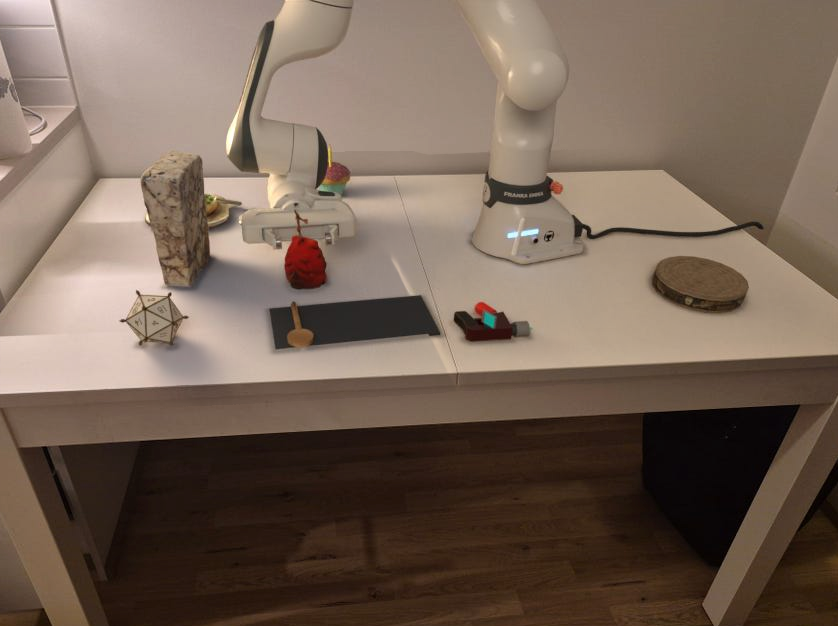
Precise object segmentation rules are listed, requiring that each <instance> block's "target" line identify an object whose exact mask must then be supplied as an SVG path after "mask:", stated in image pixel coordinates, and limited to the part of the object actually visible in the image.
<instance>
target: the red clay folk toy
mask: <svg viewBox="0 0 838 626" xmlns="http://www.w3.org/2000/svg"><path fill="white" fill-rule="evenodd" d="M296 211H297V210H294V212H295V214H296V218H295V219H296V220H297V225H298V226H297V229H296V230H297V231H298V232H299V236H298V235H295V236H293V237H292V241H290V244H289V245H288V247H287V250H286V252H285V253H286V254H285V256H284V265H283V267H284V269H283V270H284V273H285V278H286V280H287V281H288V283H289V284H290V287H291V288H292V289H294V290H313V289H319V288H320V287H321V286H322V285H323V286H324V285H325V284H326V282H327V277H328V275H327V271H326V270H327V268H328V267H327V266H328V262H327V261H326V258H325V256H324V253H323V251H322V249H321V248H320V243H319V241H317V239H315V240H312V239H310V238H307V237H302V235H301V232H300V230H301V227H300V220H301V221H303V222H304V223H305V224H308V219H302V218H301V217H300V216H299V214H298V212H297V213H296Z"/></svg>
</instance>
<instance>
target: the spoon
mask: <svg viewBox="0 0 838 626" xmlns="http://www.w3.org/2000/svg"><path fill="white" fill-rule="evenodd" d="M297 306H298V304H297V302H296V301H295V300H292V301H290V307H291V310H292V315H293V320H294V324H295V330H292V331H291V332H289V333H288V335H287V340H288V343H289V344H290V345H292V346H294V347H295V348H305V347H309V346H308V345H310V344H312V342H313V340H314V335H313V333H312V332H311V331H310V330H307V329H302V327H301V322H300V317H299V313H298V308H297Z"/></svg>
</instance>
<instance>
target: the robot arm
mask: <svg viewBox="0 0 838 626" xmlns="http://www.w3.org/2000/svg"><path fill="white" fill-rule="evenodd" d="M354 1H355V0H284V3H283V6H282V7H281V10H280V12H279V13H278V14H277V16H276V17H275V18H274V19H273V20H270V21H266V22H265V23H264V25H263V26H262V28H261V30H260V32H259V35H258V38H257V41H256V43H255V46H254V50H253V54H252V56H251V59H250V63H249V67H248V70H247V73H246V77H245V80H244V84H243V88H242V91H241V95H240V98H239V102H238V105H237V108H236V111H235V114H234V117H233V119H232V122H231V124H230V126H229V128H228V131H227V134H226V138H225V149H226V157H227V158H228V160H229V161H230V162H231V164H233V166H234V167H235V168H237V169H238V171H240V172H242V173H253V174H255V173H257V174H259V173H263V174H269V176H268V181H267V188H266V189H267V200H268V203H269V208H253V209H248V210H246V211H245V212H244V213H243V214H240V215H239V216H238V223H239V225H241V235H242V241H243V242H244V243H246V244H248V245H254V244H267V245H268V246H271V247H272V250H283V244H282V243H283V242H284V243H285V242H292V237H293V236H295V235H298V236H299V232H298V231H297V230H296V229H297V226H298V225H297V220H296V219H295V218H296V214H295V212H294V210H297V211H296V213H297V212H298V214H299V216H300V217H301V218H302V219H308V224H305V223H304V222H303V221H301V220H300V227H301V230H300V232H301V235H302V237H307V238H310V239H312V240H324V243H325V247H326V246H327V247H329V246H331V247H332V246H335V245H336V244H335V243H336V242H335V241H336V240H338V239H342V238H343V239H344V238H353V237H355V236H356V234H357V225H358V224H357V217H356V214H355V212H354V211H353V209H352V208H351V206H350V205H349V204H348V203H347V202H345V201H343V198H342V196H341V194H339V193H336V192H326V191H321V190H320V189H319V188H320V187H319V186H320V185H321V184H322V182H323V181H324V178H325V175H326V172H327V166H328V162H329V151H328V148H329V147H328V144H327V143H328V142H327V141H326V139H325V137H324V135H323V134H322V132H321V130H320V129H319V128H318V127H317V126H311V125H306V124H303V123H302V124H301V123H295V122H287V121H280V120H275V119H270V118H269V119H268V118H265V117H263V116H262V115H261V114H262V112H263V108H264V105H265V101H266V98H267V95H268V93H269V89H270V85H271V81H272V79H273V77H274V75H275V73H276V72H277V71H279V69H280V68H282V67H284V66H286V65H288V64H292V63H295V62H299V61H305V60H310V59H316V58H319V57H322V56H325V55H327V54H329V53H331V52H333V51H334V50H336V49H337V48H338V47H339V46H340V45H341V44H342V43H343V41H344V40H345V38H346V36H347V33H348V31H349V27H350V23H351V18H352V12H353V6H354ZM452 2H453V4H454V5H455V7H456V9H457V10H458V12H459V14H460V15H461V17H462V18H463V20H464V22H465V24H466V25H467V27H468V29H469V30H470V31H471V34H472V36H473V37H474V39H475V41H476V43H477V45H478V47H479V48H480V50H481V52H482V54H483V56H484V58H485V60H486V62H487V63H488V65H489V67H490V69H491V71H492V72H493V74H494V76H495V77H496V79H497V87H496V88H497V89H496V97H495V98H496V99H495V109H494V117H493V118H494V119H493V129H492V138H491V144H490V145H491V147H490V153H489V161H488V162H489V163H488V168H487V171H486V172H485V176H484V182H483V187H482V206H481V211H480V215H479V217H478V221H477V223H476V227H475V229H474V232H473V234H472V236H471V243H472V244H473V246H474V247H475V248H476V249H478V250H479V251H481V252H482V253H485V254H487V255H490V256H493V257H496V258H501V259H506V260H509V261H511V262H514V263H515V264H516V263H517V264H519V265H529V264H533V263H539V262H544V261H549V260H554V259H559V258H565V257H570V256H574V255H575V256H576V255H580V254H583V252H584V247H585V245H584V241H583V240H582V239H581V237H582V234H583V231H586V238H588V239H590V240H595V239H598V238H601V237H604V236H606V235H609V234H611V233H633V234H641V235H642V234H643V235H654V236H655V235H656V236H666V237H668V236H669V237H692V238H693V237H708V236H716V235H723V234H727V233H729V232H730V233H731V232H734V231H735V232H736V231H739V230H743V229H745V228H746V229H747V228H750V227H756V228H758V230H765V228H764V226H763V224H762V223H761V222H759V221H748V222H744V223H742V224H738V225H734V226H728V227H724V228H721V229H717V230H709V231H673V230H672V231H671V230H658V229H647V228H636V227H624V226H623V227H621V226H619V227H610V228H607V229H605V230H602V231H600V232H598V233H597V234H592V228H591V226H589V225H588V224H585V223H582V221H581V220H580V219H579V218H578V217H577V216H575V214H572V213H571V212H570V210H568V209H567V208H566V207H565V206H564V205H563V204H562V203H561V202H560V201H559V200H557V199H556V198H555V197H554V195H553V194H555V196H556V195H557V196H558V195H561V194H562V193H563V191H564V186H563V184H561V183H560V182H559V181H555V180H554V179H553V178H551V176H548V170H549V163H550V159H551V152H552V147H553V142H554V135H555V133H554V132H555V121H556V111H557V103H558V100H559V99H560V98H561V96H562V95H563V93H564V91H565V90H566V87H567V84H568V81H569V78H570V63H569V60H568V57H567V55H566V52H565V49H564V48H563V47H562V44H561V42H560V40H559V38H558V37H557V35H555V32H554V31H553V29H552V27H551V26H550V24H549V22H548V20H547V18H546V17H545V15H544V13H543V11H542V9H541V8H540V5H539V4H538V2H537V1H536V0H452ZM318 189H319V190H318ZM552 193H553V194H552Z"/></svg>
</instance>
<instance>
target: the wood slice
mask: <svg viewBox="0 0 838 626" xmlns="http://www.w3.org/2000/svg"><path fill="white" fill-rule="evenodd" d="M651 281H652V282H651V286H652V287H653V289H654V291H655V293H657V294H658V295H659V296H661V298H663V299H664V300H666V301H667V302H670V303H672V304H674V305H676V306H677V307H681V308H684V309H687V310H691V311H695V312H701V313H708V314H709V313H710V314H723V313H724V314H725V313H730V312H733V311H736V310H737V309H739V308H741V306H742V305H743V304H744V300H745V299H746V296H747V294H748V291H749V289H750V286H749V282H748V280H747V279H746V277H745V276H744V275H743V274H742V273H740V272H739V271H737V270H736V269H734V268H732V267H731V266H728V265H726V264H724V263H722V262H719V261H716V260H712V259H709V258H704V257H698V256H692V255H691V256H688V255H676V256H669V257H666V258H664V259H661V260H659V262H658V263H657V264H656V266H655V269H654V272H653V275H652V280H651Z"/></svg>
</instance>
